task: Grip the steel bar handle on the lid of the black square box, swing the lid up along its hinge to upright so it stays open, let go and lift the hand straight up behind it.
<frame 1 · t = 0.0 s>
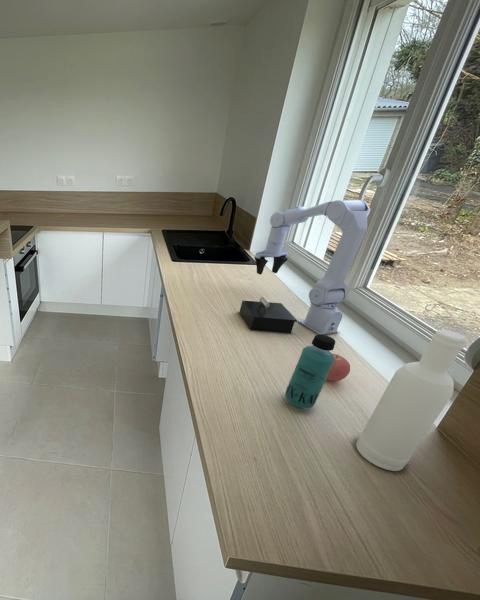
hand: (266, 273, 137), 10 cm above the counter, tool pointing down, fingers open, 7 cm apart
beverage bottle: (297, 405, 81), on the counter
lid: (269, 306, 116), point 7 cm above the counter, hinge at 0.0°
bottle: (378, 455, 68), on the counter
apple: (327, 378, 91), on the counter
black square box: (263, 322, 119), on the counter
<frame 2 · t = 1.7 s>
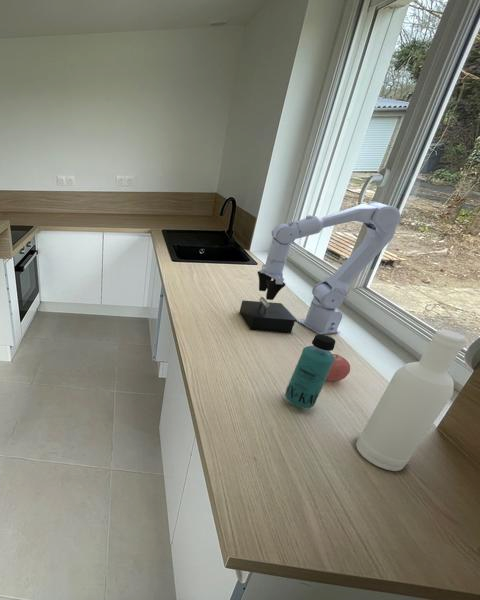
hand: (265, 294, 117), 10 cm above the counter, tool pointing down, fingers open, 7 cm apart
nothing on the counter moved.
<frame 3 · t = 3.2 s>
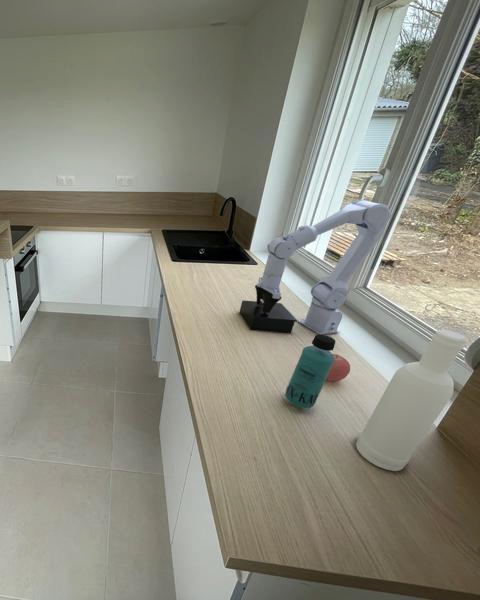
hand: (262, 308, 117), 6 cm above the counter, tool pointing down, fingers closed on lid, 5 cm apart
lid: (269, 306, 116), point 7 cm above the counter, hinge at 0.0°, touching gripper
everything else where it was.
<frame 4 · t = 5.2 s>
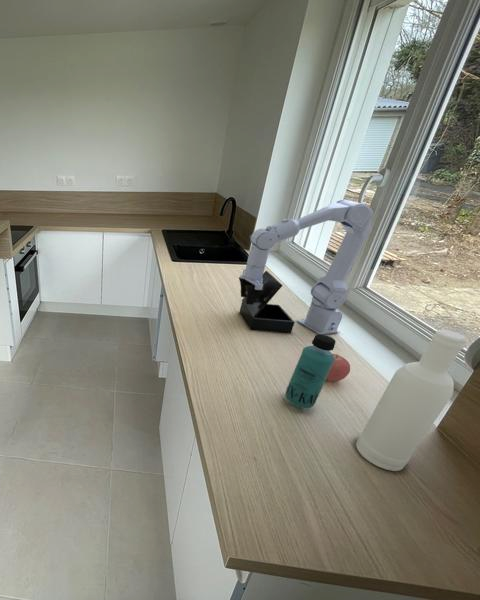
hand: (246, 300, 116), 9 cm above the counter, tool pointing down, fingers closed on lid, 5 cm apart
lid: (256, 291, 114), point 12 cm above the counter, hinge at 66.3°, touching gripper
everything else where it was.
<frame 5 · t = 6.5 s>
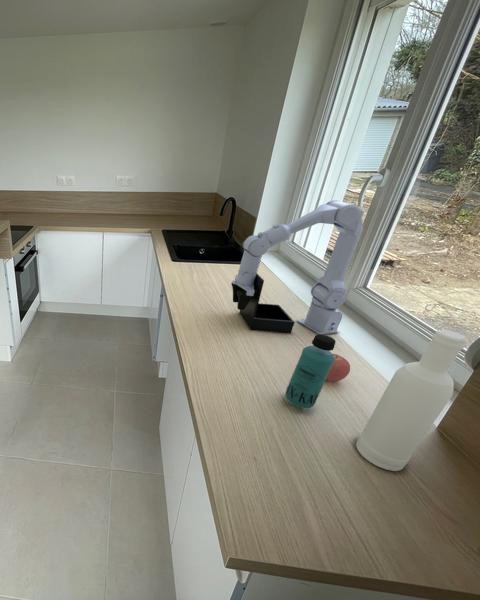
hand: (238, 305, 117), 6 cm above the counter, tool pointing down, fingers closed on lid, 5 cm apart
lid: (246, 291, 115), point 12 cm above the counter, hinge at 92.1°, touching gripper
everything else where it was.
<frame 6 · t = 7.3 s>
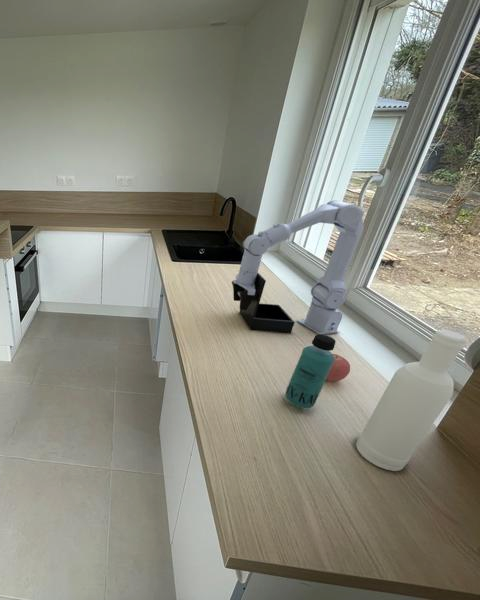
hand: (239, 305, 117), 6 cm above the counter, tool pointing down, fingers open, 7 cm apart
lid: (247, 291, 115), point 12 cm above the counter, hinge at 89.8°
everything else where it was.
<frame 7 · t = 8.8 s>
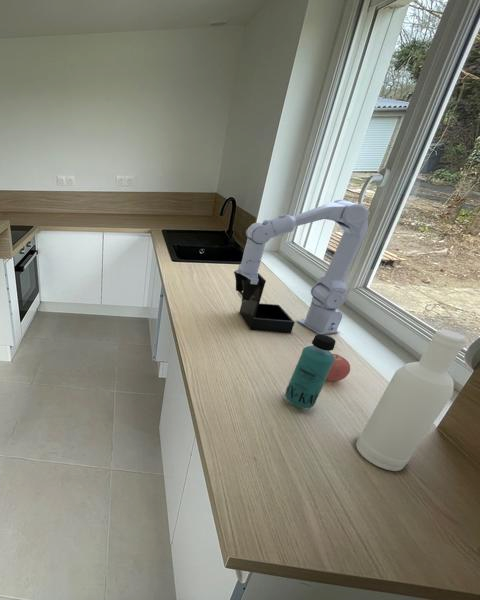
hand: (242, 295, 115), 10 cm above the counter, tool pointing down, fingers open, 7 cm apart
nothing on the counter moved.
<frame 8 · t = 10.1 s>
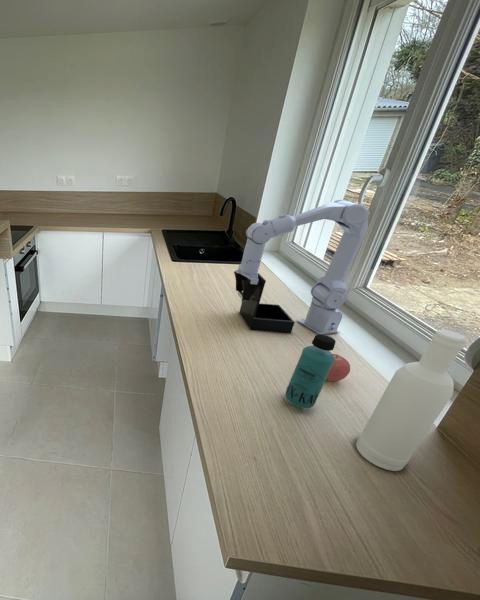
hand: (242, 295, 115), 10 cm above the counter, tool pointing down, fingers open, 7 cm apart
nothing on the counter moved.
at the end: lid at +90° (first picture: +0°); the gripper is holding nothing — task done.
